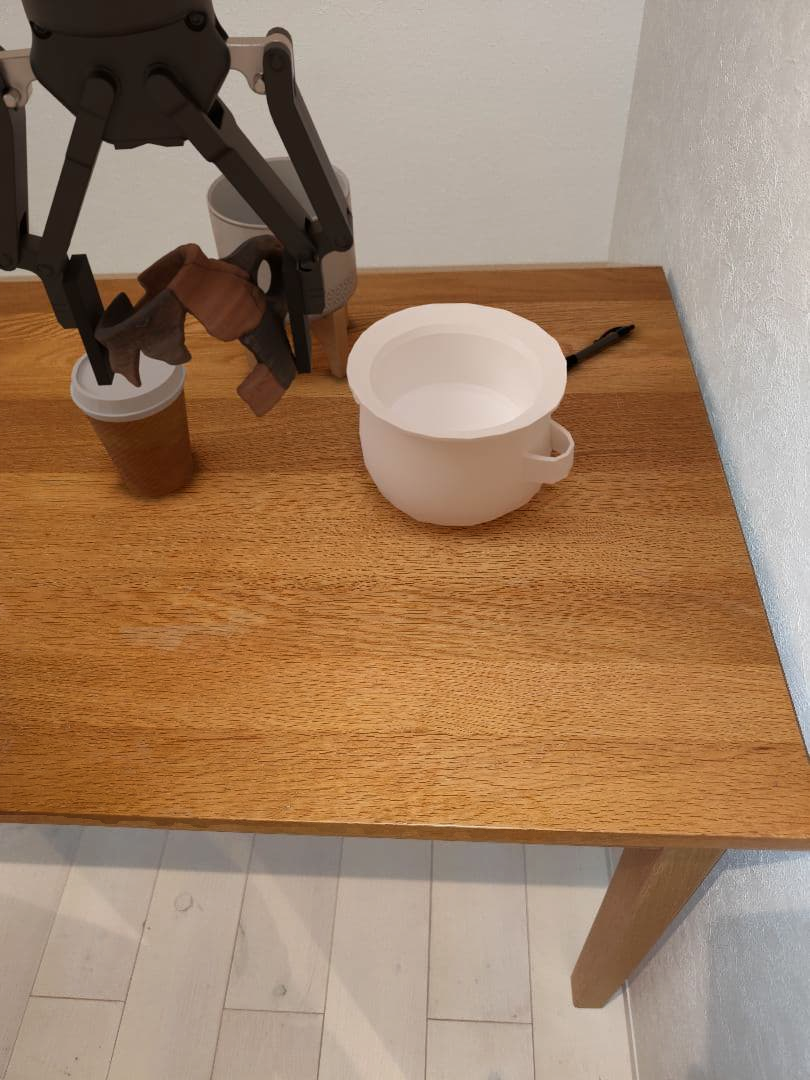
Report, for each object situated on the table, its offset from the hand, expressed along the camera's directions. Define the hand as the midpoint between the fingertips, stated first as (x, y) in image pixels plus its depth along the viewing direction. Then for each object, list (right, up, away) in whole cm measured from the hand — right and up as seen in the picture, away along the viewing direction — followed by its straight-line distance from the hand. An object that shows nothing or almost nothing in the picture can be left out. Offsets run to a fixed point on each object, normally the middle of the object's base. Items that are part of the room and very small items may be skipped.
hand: (207, 364), depth 51 cm
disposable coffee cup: (-11, -4, +32) cm, 34 cm away
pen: (+30, +9, +41) cm, 52 cm away
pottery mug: (+1, 0, 0) cm, 1 cm away
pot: (+16, -4, +30) cm, 34 cm away
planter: (0, +10, +43) cm, 44 cm away
